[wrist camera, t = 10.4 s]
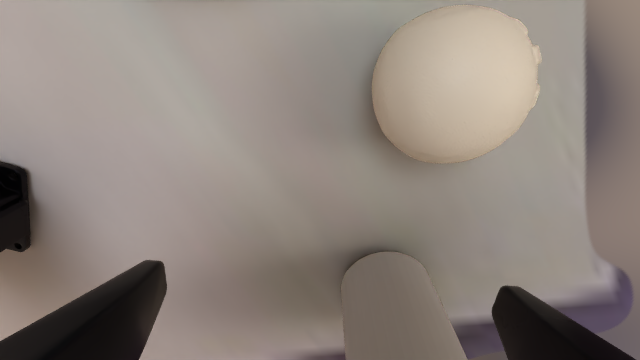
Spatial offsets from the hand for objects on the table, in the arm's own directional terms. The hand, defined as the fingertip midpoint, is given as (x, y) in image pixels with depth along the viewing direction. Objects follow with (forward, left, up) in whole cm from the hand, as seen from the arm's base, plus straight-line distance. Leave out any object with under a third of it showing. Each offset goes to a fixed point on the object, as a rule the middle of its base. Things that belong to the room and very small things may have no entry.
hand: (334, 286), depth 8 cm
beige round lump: (+4, +6, -12) cm, 14 cm away
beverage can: (+7, -8, -12) cm, 16 cm away
